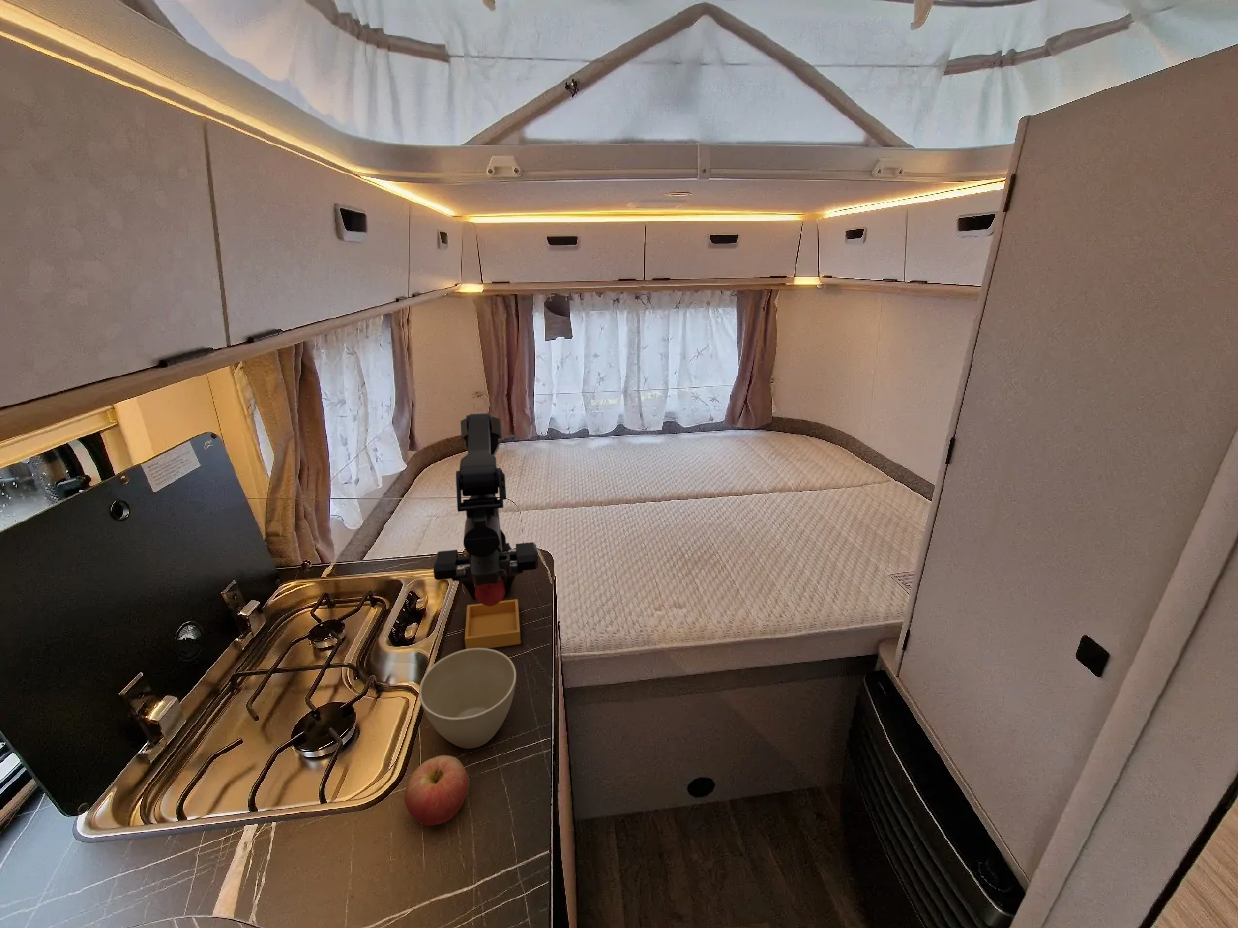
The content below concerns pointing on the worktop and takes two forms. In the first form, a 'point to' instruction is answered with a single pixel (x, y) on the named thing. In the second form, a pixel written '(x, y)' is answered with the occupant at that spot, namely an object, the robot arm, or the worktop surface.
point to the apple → (436, 790)
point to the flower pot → (468, 695)
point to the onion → (490, 593)
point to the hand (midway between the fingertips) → (490, 596)
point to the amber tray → (492, 625)
